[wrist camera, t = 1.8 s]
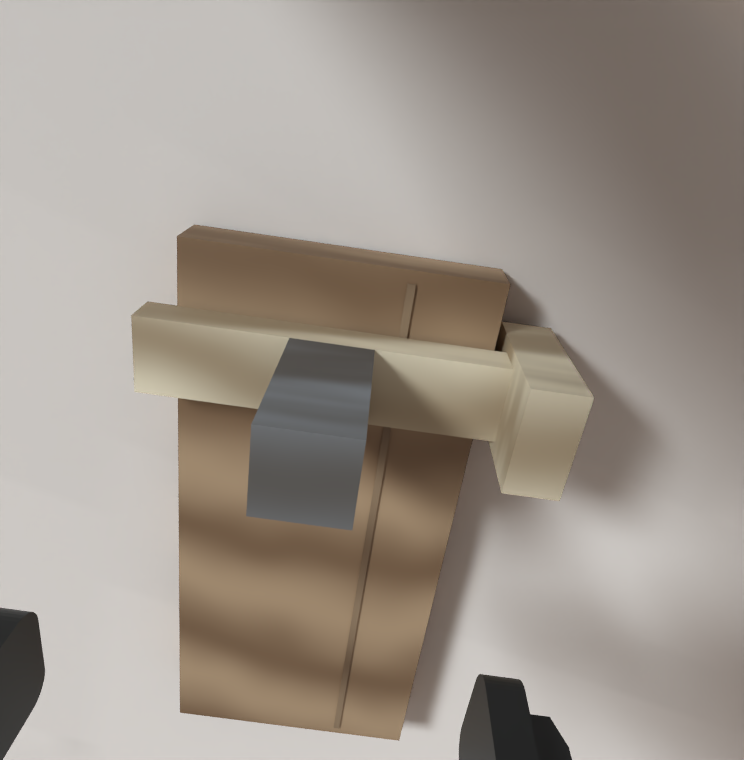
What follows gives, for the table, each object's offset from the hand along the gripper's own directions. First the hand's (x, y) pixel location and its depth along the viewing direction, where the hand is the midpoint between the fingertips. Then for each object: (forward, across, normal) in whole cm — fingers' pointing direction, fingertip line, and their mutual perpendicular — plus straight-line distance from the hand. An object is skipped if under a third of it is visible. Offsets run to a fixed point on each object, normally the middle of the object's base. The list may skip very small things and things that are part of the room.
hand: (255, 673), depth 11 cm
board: (+16, 0, +9) cm, 18 cm away
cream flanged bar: (+16, 0, 0) cm, 16 cm away
